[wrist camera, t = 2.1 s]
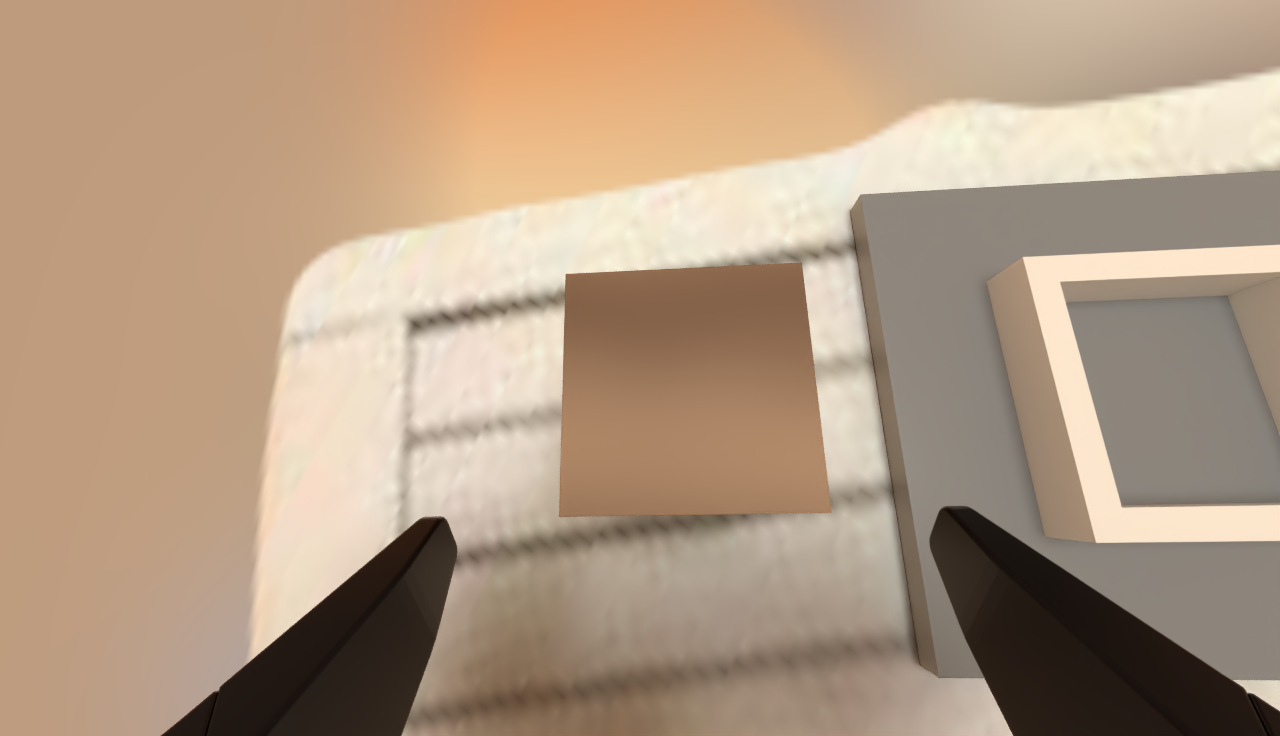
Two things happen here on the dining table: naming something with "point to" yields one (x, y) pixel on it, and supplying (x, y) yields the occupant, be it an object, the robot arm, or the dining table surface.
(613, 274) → the walnut block
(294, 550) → the dining table surface
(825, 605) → the dining table surface
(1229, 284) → the socket plate
